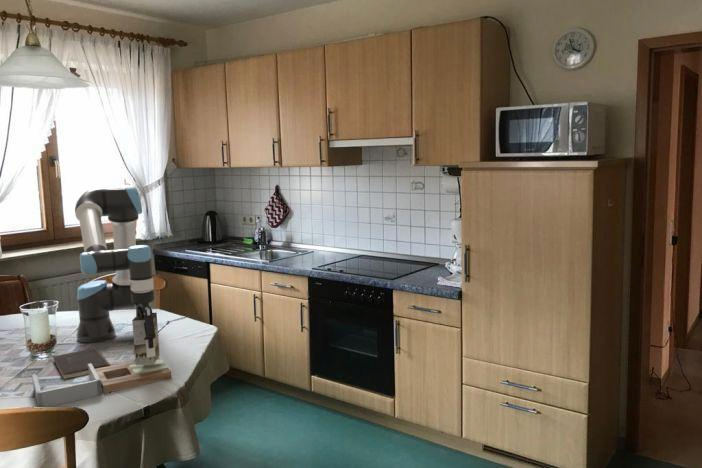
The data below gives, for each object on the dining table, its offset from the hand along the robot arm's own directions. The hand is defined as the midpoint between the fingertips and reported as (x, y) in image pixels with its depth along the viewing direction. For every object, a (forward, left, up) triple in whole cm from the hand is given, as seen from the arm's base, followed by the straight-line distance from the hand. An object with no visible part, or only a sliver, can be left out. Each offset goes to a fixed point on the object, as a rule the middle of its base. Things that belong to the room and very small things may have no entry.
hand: (147, 352), depth 215 cm
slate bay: (+1, -26, -8) cm, 28 cm away
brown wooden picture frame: (0, -5, -8) cm, 10 cm away
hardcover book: (-24, -19, -9) cm, 32 cm away
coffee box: (0, 0, -3) cm, 3 cm away
